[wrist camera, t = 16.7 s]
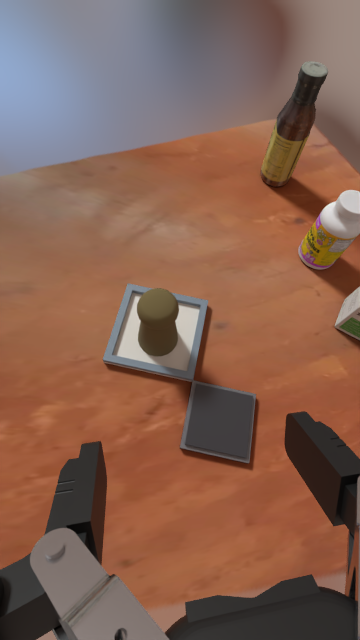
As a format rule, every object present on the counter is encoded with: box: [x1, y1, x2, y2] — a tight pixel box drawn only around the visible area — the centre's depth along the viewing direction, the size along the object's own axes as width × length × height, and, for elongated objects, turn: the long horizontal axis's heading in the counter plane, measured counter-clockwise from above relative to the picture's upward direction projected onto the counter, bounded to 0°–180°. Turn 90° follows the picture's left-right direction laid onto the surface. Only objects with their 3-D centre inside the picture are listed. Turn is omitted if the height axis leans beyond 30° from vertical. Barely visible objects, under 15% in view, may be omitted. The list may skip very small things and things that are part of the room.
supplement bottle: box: [299, 190, 360, 270], centre depth 52 cm, size 7×7×13 cm
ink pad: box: [180, 380, 256, 463], centre depth 43 cm, size 9×9×2 cm
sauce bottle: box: [261, 62, 328, 186], centre depth 56 cm, size 6×6×20 cm
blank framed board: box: [103, 284, 208, 382], centre depth 48 cm, size 13×13×1 cm
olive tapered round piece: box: [137, 288, 179, 356], centre depth 43 cm, size 6×6×11 cm
